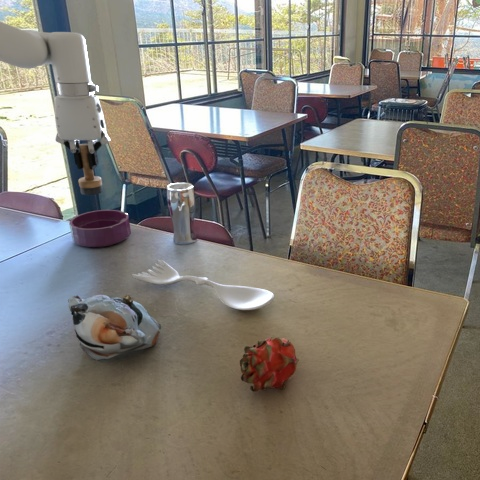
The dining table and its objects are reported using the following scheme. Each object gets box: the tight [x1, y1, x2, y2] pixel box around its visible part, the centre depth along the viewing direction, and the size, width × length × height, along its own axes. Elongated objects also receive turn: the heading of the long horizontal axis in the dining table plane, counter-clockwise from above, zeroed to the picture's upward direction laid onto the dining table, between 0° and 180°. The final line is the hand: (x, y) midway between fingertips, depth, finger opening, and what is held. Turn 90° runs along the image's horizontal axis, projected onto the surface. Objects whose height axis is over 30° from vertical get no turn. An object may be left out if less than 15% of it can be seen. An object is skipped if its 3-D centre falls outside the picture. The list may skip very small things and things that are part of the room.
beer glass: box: [166, 182, 198, 246], centre depth 125 cm, size 7×7×15 cm
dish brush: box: [78, 143, 103, 196], centre depth 118 cm, size 5×5×12 cm
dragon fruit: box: [239, 336, 299, 393], centre depth 77 cm, size 8×8×12 cm
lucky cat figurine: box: [67, 294, 162, 361], centre depth 82 cm, size 15×12×14 cm
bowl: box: [69, 209, 132, 248], centre depth 127 cm, size 14×14×6 cm
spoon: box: [131, 258, 275, 311], centre depth 102 cm, size 9×32×4 cm, turn 66°
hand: (87, 167), depth 118 cm, fingers closed on dish brush
